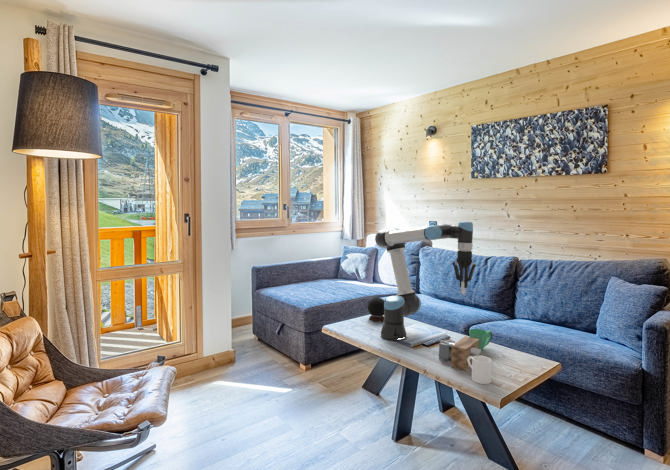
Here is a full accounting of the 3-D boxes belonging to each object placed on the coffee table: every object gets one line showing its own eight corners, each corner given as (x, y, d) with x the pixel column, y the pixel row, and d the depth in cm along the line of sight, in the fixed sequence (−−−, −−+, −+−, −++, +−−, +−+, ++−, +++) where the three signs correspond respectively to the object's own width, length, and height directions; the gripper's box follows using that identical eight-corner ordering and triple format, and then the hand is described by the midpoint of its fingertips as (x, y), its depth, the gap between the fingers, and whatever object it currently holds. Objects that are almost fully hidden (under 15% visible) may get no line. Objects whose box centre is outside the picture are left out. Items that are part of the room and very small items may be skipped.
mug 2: (472, 371, 185) (473, 351, 184) (494, 381, 174) (495, 360, 174) (460, 375, 180) (461, 354, 180) (482, 385, 170) (483, 363, 169)
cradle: (438, 359, 199) (439, 343, 198) (445, 354, 205) (445, 339, 205) (448, 361, 196) (448, 345, 195) (454, 356, 202) (454, 341, 201)
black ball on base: (377, 315, 276) (377, 294, 275) (390, 319, 266) (391, 298, 264) (363, 318, 267) (363, 297, 266) (377, 323, 257) (377, 301, 256)
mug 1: (478, 354, 206) (479, 335, 205) (464, 348, 214) (464, 330, 214) (497, 349, 212) (498, 331, 212) (483, 344, 221) (484, 326, 220)
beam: (451, 366, 190) (451, 345, 189) (464, 355, 204) (465, 336, 203) (465, 370, 185) (466, 349, 185) (478, 359, 200) (478, 339, 199)
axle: (439, 347, 201) (439, 341, 201) (442, 345, 204) (442, 339, 203) (478, 357, 188) (478, 350, 188) (481, 355, 191) (481, 348, 191)
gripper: (450, 249, 212) (449, 292, 214) (474, 251, 204) (472, 296, 206) (455, 248, 218) (454, 290, 220) (479, 250, 210) (477, 293, 212)
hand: (463, 293), depth 213 cm, fingers closed
